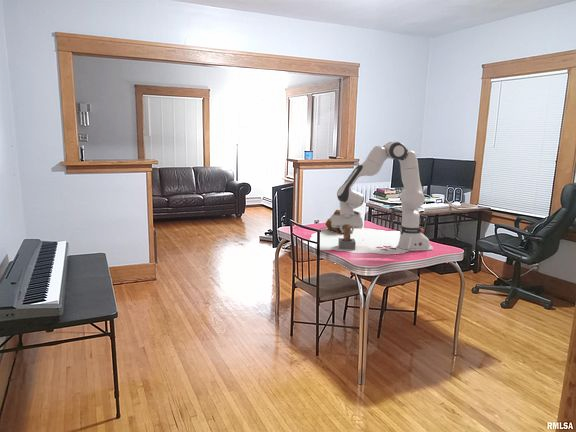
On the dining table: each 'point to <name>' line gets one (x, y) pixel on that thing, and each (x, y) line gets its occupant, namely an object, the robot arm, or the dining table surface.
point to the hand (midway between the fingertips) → (347, 233)
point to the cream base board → (361, 248)
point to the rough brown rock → (331, 222)
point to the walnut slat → (347, 232)
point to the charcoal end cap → (346, 244)
